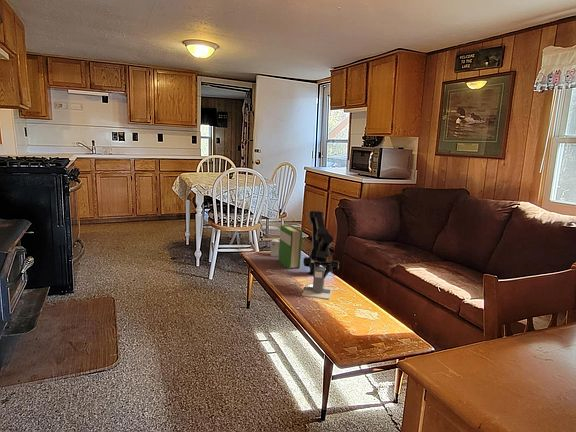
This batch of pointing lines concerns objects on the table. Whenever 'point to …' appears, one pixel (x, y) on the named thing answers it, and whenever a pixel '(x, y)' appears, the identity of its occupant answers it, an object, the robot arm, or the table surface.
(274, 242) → the light bulb box
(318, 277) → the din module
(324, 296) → the board
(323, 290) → the din rail
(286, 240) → the hardback book
